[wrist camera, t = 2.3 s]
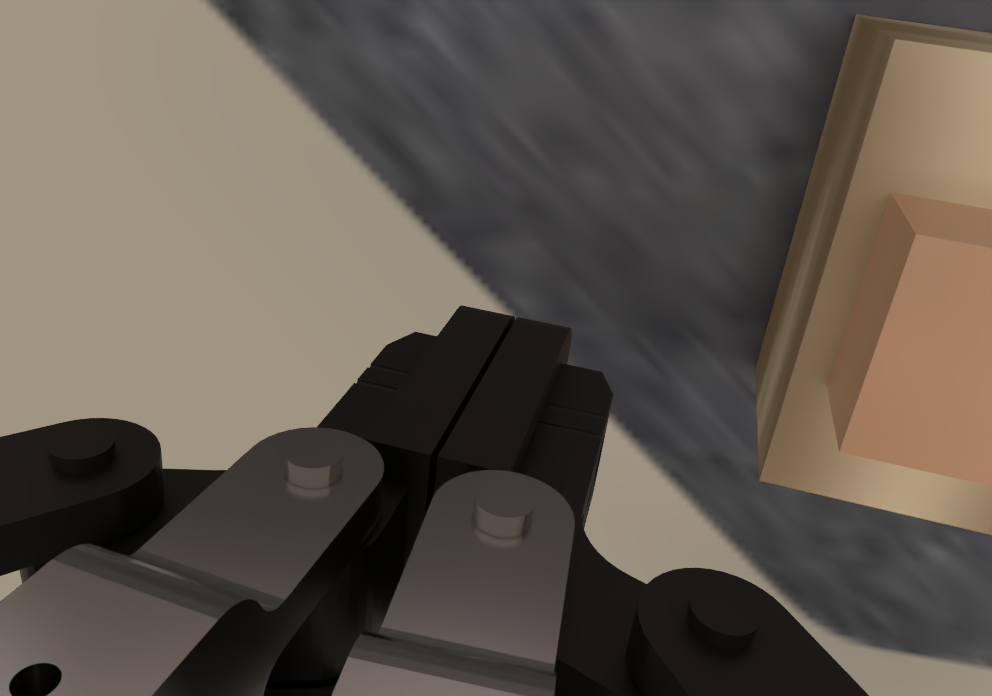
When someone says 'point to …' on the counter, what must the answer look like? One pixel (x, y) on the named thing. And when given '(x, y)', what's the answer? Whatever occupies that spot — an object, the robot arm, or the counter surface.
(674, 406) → the counter surface
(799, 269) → the wooden block
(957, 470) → the terracotta tile
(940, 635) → the counter surface
